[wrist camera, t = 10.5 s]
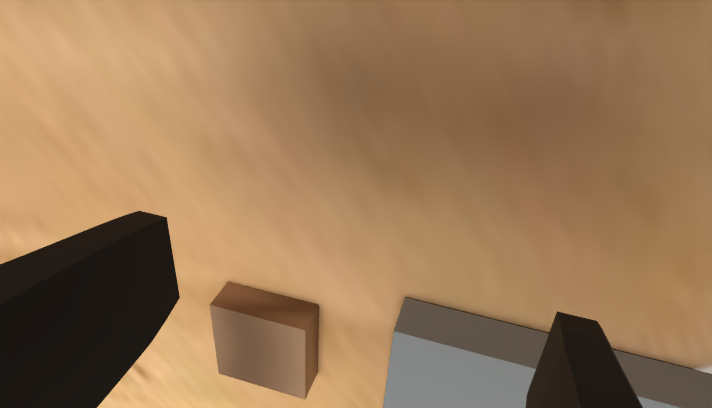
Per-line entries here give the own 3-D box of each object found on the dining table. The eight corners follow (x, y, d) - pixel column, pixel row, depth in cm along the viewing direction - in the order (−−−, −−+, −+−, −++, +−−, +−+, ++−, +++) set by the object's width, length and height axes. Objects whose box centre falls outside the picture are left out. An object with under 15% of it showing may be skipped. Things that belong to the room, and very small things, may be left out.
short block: (321, 299, 23) (304, 330, 22) (320, 367, 26) (305, 399, 24) (231, 276, 24) (209, 304, 23) (238, 343, 27) (218, 373, 25)
